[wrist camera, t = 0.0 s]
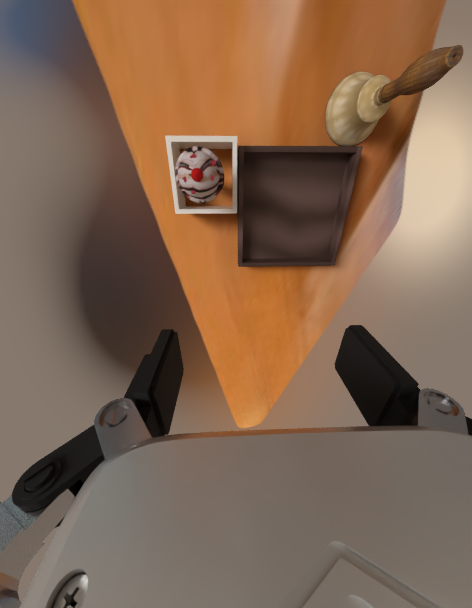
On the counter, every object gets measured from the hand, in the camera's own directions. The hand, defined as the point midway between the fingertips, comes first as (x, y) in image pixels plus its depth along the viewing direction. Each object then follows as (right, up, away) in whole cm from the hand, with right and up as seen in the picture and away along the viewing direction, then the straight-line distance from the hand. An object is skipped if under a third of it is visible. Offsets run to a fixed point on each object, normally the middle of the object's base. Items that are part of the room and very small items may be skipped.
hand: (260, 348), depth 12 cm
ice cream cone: (-6, +23, +23) cm, 33 cm away
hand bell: (+16, +31, +19) cm, 40 cm away
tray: (+8, +19, +26) cm, 33 cm away
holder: (-6, +23, +23) cm, 33 cm away
